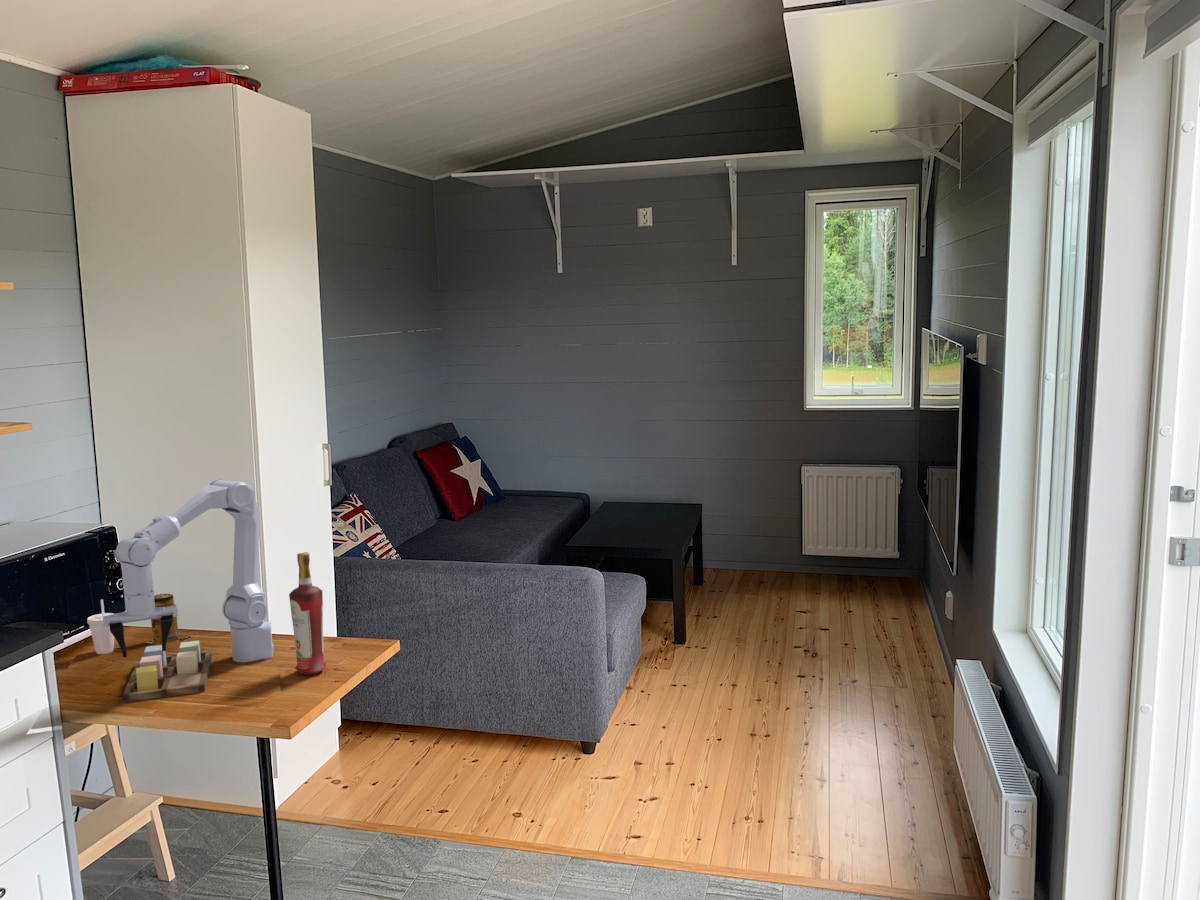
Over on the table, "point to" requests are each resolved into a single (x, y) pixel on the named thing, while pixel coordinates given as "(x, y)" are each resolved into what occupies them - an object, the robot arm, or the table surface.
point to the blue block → (156, 653)
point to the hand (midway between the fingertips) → (144, 652)
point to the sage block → (191, 648)
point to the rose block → (153, 663)
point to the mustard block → (147, 678)
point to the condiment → (160, 601)
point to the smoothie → (101, 633)
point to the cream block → (187, 662)
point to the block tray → (171, 680)
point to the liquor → (307, 620)
